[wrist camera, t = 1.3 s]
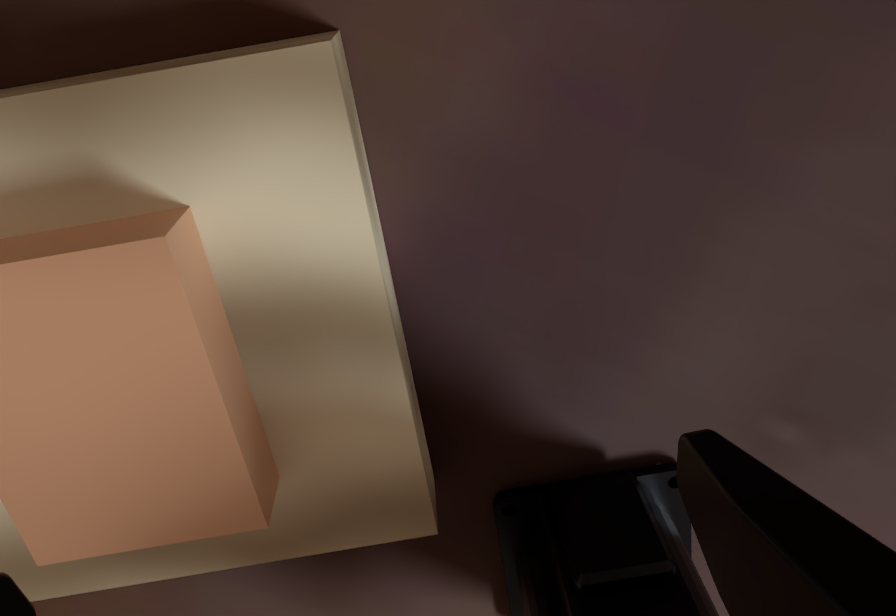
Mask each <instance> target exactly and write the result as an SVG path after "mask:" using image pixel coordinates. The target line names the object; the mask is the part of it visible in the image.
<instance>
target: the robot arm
mask: <svg viewBox="0 0 896 616" xmlns="http://www.w3.org/2000/svg"><path fill="white" fill-rule="evenodd" d="M674 476H676V479H675V480H672V481H668V480H669V479H670V478H672V477H674ZM507 504H513V506H512V507H509V508H504V507H503V506H504V505H507ZM493 509H494V515H495V521H496V526H497V532H498V538H499V544H500V550H501V556H502V562H503V568H504V574H505V580H506V586H507V592H508V597H509V603H510V609H511V615H512V616H719V615H718V613H717V610H716V608H715V606H714V604H713V602H712V600H711V598H710V596H709V594H708V592H707V590H706V588H705V586H704V584H703V582H702V580H701V578H700V576H699V574H698V572H697V569H696V567H695V565H694V563H693V561H692V559H691V523H692V526H693V529H694V531H695V534H696V536H697V539H698V541H699V544H700V547H701V549H702V552H703V554H704V557H705V560H706V562H707V565H708V567H709V570H710V572H711V575H712V578H713V580H714V582H715V585H716V587H717V590H718V592H719V595H720V597H721V599H722V601H723V603H724V605H725V607H726V609H727V611H728V613H729V615H730V616H896V552H895V551H893V550H892V549H890V548H889V547H887V546H886V545H884V544H883V543H881V542H880V541H878V540H877V539H875V538H874V537H872V536H871V535H869V534H868V533H866V532H865V531H863V530H862V529H860V528H859V527H857V526H856V525H854V524H853V523H851V522H850V521H848V520H847V519H845V518H844V517H842V516H841V515H839V514H838V513H836V512H835V511H833V510H832V509H830V508H829V507H827V506H826V505H824V504H823V503H821V502H820V501H818V500H817V499H815V498H814V497H812V496H811V495H809V494H808V493H806V492H805V491H803V490H802V489H800V488H799V487H797V486H796V485H794V484H793V483H791V482H790V481H788V480H787V479H785V478H784V477H782V476H781V475H780V474H778V473H777V472H775V471H774V470H772V469H771V468H769V467H768V466H766V465H765V464H763V463H762V462H760V461H759V460H757V459H756V458H754V457H753V456H751V455H750V454H748V453H747V452H745V451H744V450H742V449H741V448H739V447H738V446H736V445H735V444H733V443H732V442H730V441H729V440H727V439H726V438H724V437H723V436H721V435H720V434H718V433H717V432H715V431H713V430H710V429H704V430H699V431H694V432H689V433H684V434H682V435H681V436H680V438H679V442H678V456H677V463H666V464H660V465H654V466H648V467H642V468H636V469H630V470H624V471H618V472H612V473H606V474H600V475H594V476H588V477H582V478H576V479H570V480H564V481H558V482H552V483H546V484H540V485H534V486H528V487H522V488H516V489H510V490H505V491H502V492H499V493H498V494H497V495H496V496H495V497H494V499H493ZM0 616H36V612H35V609H34V607H33V605H32V603H31V602H30V601H29V600H28V598H27V597H26V596H25V595H24V593H23V592H22V591H21V589H20V588H19V587H18V586H17V584H16V583H15V582H14V580H13V579H12V578H11V577H10V576H9V575H8V574H6V573H4V572H0Z"/></svg>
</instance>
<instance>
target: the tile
mask: <svg viewBox="0 0 896 616" xmlns="http://www.w3.org/2000/svg"><path fill="white" fill-rule="evenodd" d="M279 478H280V477H279V474H278V471H277V468H276V465H275V461H274V458H273V455H272V452H271V449H270V446H269V443H268V440H267V437H266V434H265V431H264V428H263V425H262V422H261V419H260V416H259V413H258V410H257V407H256V404H255V401H254V398H253V395H252V392H251V389H250V386H249V383H248V380H247V377H246V374H245V371H244V368H243V365H242V362H241V359H240V356H239V353H238V350H237V347H236V344H235V341H234V338H233V335H232V332H231V328H230V325H229V322H228V319H227V316H226V313H225V310H224V307H223V304H222V301H221V298H220V295H219V292H218V289H217V286H216V283H215V280H214V277H213V274H212V271H211V268H210V265H209V262H208V259H207V256H206V253H205V250H204V247H203V244H202V241H201V238H200V235H199V232H198V229H197V226H196V223H195V220H194V217H193V214H192V211H191V208H190V206H189V207H183V208H178V209H172V210H166V211H160V212H155V213H149V214H143V215H137V216H131V217H126V218H120V219H114V220H108V221H103V222H97V223H91V224H85V225H79V226H74V227H68V228H62V229H56V230H50V231H45V232H39V233H33V234H27V235H22V236H16V237H10V238H4V239H0V500H1V501H2V503H3V505H4V507H5V508H6V510H7V512H8V514H9V516H10V517H11V519H12V521H13V523H14V525H15V526H16V528H17V530H18V532H19V534H20V535H21V537H22V539H23V541H24V543H25V544H26V546H27V548H28V550H29V552H30V553H31V555H32V557H33V559H34V561H35V562H36V564H37V566H42V565H48V564H54V563H60V562H66V561H72V560H78V559H84V558H90V557H96V556H103V555H109V554H115V553H121V552H127V551H133V550H139V549H145V548H151V547H157V546H163V545H169V544H175V543H181V542H187V541H193V540H199V539H205V538H211V537H217V536H223V535H229V534H235V533H241V532H247V531H253V530H259V529H265V528H268V526H269V522H270V517H271V513H272V509H273V504H274V500H275V496H276V491H277V487H278V483H279Z"/></svg>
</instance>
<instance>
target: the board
mask: <svg viewBox="0 0 896 616" xmlns="http://www.w3.org/2000/svg"><path fill="white" fill-rule="evenodd" d="M189 206H190V208H191V211H192V214H193V217H194V220H195V223H196V226H197V229H198V232H199V235H200V238H201V241H202V244H203V247H204V250H205V253H206V256H207V259H208V262H209V265H210V268H211V271H212V274H213V277H214V280H215V283H216V286H217V289H218V292H219V295H220V298H221V301H222V304H223V307H224V310H225V313H226V316H227V319H228V322H229V325H230V328H231V332H232V335H233V338H234V341H235V344H236V347H237V350H238V353H239V356H240V359H241V362H242V365H243V368H244V371H245V374H246V377H247V380H248V383H249V386H250V389H251V392H252V395H253V398H254V401H255V404H256V407H257V410H258V413H259V416H260V419H261V422H262V425H263V428H264V431H265V434H266V437H267V440H268V443H269V446H270V449H271V452H272V455H273V458H274V461H275V465H276V468H277V471H278V474H279V477H280V478H279V483H278V487H277V491H276V496H275V500H274V504H273V509H272V513H271V517H270V522H269V526H268V528H265V529H259V530H253V531H247V532H241V533H235V534H229V535H223V536H217V537H211V538H205V539H199V540H193V541H187V542H181V543H175V544H169V545H163V546H157V547H151V548H145V549H139V550H133V551H127V552H121V553H115V554H109V555H103V556H96V557H90V558H84V559H78V560H72V561H66V562H60V563H54V564H48V565H42V566H37V564H36V562H35V561H34V559H33V557H32V555H31V553H30V552H29V550H28V548H27V546H26V544H25V543H24V541H23V539H22V537H21V535H20V534H19V532H18V530H17V528H16V526H15V525H14V523H13V521H12V519H11V517H10V516H9V514H8V512H7V510H6V508H5V507H4V505H3V503H2V501H1V500H0V572H4V573H6V574H8V575H9V576H10V577H11V578H12V579H13V580H14V582H15V583H16V584H17V586H18V587H19V588H20V589H21V591H22V592H23V593H24V595H25V596H26V597H27V598H28V600H29V601H30V602H32V601H38V600H44V599H50V598H56V597H62V596H68V595H74V594H80V593H86V592H92V591H98V590H104V589H110V588H116V587H123V586H129V585H135V584H141V583H147V582H153V581H159V580H165V579H171V578H177V577H183V576H189V575H195V574H201V573H207V572H213V571H219V570H225V569H231V568H237V567H243V566H249V565H255V564H261V563H267V562H273V561H279V560H285V559H291V558H298V557H304V556H310V555H316V554H322V553H328V552H334V551H340V550H346V549H352V548H358V547H364V546H370V545H376V544H382V543H388V542H394V541H400V540H406V539H412V538H418V537H424V536H430V535H436V534H438V524H437V509H436V495H435V480H434V475H433V470H432V466H431V461H430V456H429V451H428V447H427V442H426V437H425V432H424V428H423V423H422V418H421V413H420V409H419V404H418V399H417V395H416V390H415V385H414V380H413V376H412V371H411V366H410V361H409V357H408V352H407V347H406V342H405V338H404V333H403V328H402V324H401V319H400V314H399V309H398V305H397V300H396V295H395V290H394V286H393V281H392V276H391V271H390V267H389V262H388V257H387V252H386V248H385V243H384V238H383V234H382V229H381V224H380V219H379V215H378V210H377V205H376V200H375V196H374V191H373V186H372V181H371V177H370V172H369V167H368V163H367V158H366V153H365V148H364V144H363V139H362V134H361V129H360V125H359V120H358V115H357V110H356V106H355V101H354V96H353V91H352V87H351V82H350V77H349V73H348V68H347V63H346V58H345V54H344V49H343V44H342V39H341V35H340V30H337V31H331V32H325V33H320V34H314V35H308V36H303V37H297V38H291V39H286V40H280V41H274V42H268V43H263V44H257V45H251V46H246V47H240V48H234V49H229V50H223V51H217V52H212V53H206V54H200V55H195V56H189V57H183V58H177V59H172V60H166V61H160V62H155V63H149V64H143V65H138V66H132V67H126V68H121V69H115V70H109V71H104V72H98V73H92V74H86V75H81V76H75V77H69V78H64V79H58V80H52V81H47V82H41V83H35V84H30V85H24V86H18V87H13V88H7V89H1V90H0V239H4V238H10V237H16V236H22V235H27V234H33V233H39V232H45V231H50V230H56V229H62V228H68V227H74V226H79V225H85V224H91V223H97V222H103V221H108V220H114V219H120V218H126V217H131V216H137V215H143V214H149V213H155V212H160V211H166V210H172V209H178V208H183V207H189Z"/></svg>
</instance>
